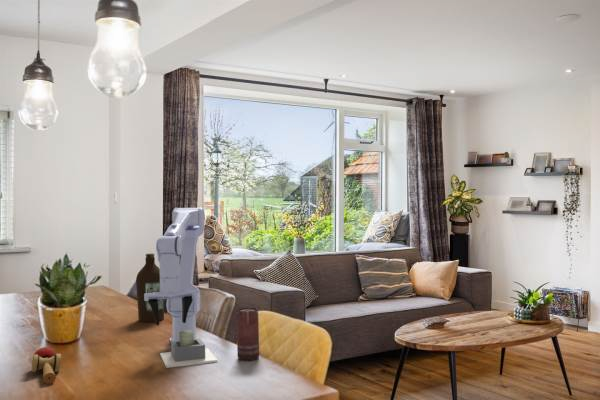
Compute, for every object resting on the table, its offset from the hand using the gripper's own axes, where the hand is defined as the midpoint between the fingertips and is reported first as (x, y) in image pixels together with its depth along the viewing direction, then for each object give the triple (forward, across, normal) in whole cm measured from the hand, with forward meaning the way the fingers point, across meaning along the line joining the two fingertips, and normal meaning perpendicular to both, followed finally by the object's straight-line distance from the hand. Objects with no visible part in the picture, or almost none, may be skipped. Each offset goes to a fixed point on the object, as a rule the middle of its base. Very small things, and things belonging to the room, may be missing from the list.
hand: (170, 323), depth 174 cm
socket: (+9, +4, -5) cm, 11 cm away
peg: (+9, +4, -5) cm, 11 cm away
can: (+10, +20, -12) cm, 25 cm away
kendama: (+10, -33, -5) cm, 35 cm away
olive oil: (+10, 0, +55) cm, 56 cm away
